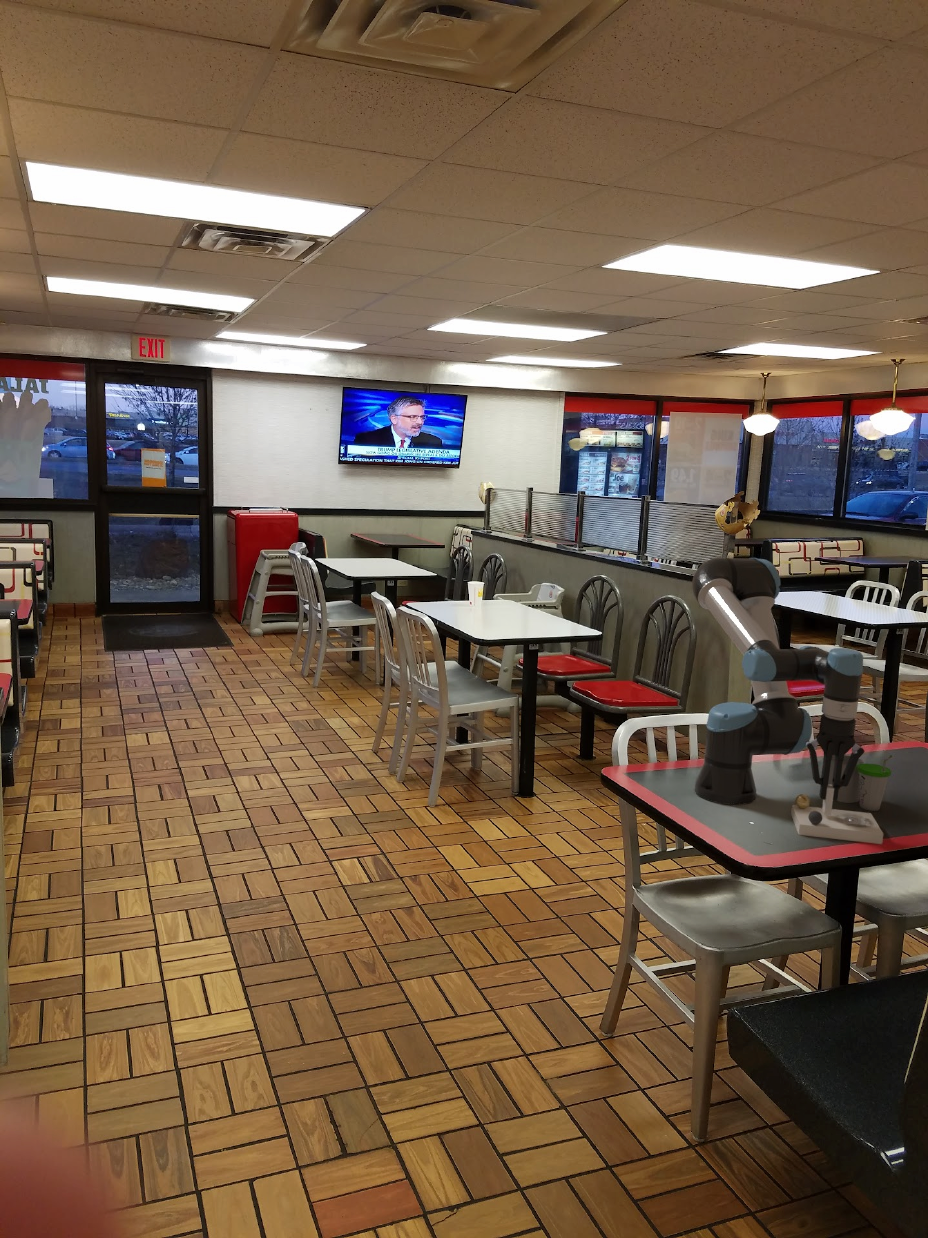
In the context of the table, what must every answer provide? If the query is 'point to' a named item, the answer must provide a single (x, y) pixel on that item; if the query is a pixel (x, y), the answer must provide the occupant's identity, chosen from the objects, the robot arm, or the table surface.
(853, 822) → the steel ball
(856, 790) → the cup
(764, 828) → the table surface
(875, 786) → the cup
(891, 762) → the table surface
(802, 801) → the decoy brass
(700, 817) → the table surface
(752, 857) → the table surface
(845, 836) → the plate
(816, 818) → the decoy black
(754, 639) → the robot arm
